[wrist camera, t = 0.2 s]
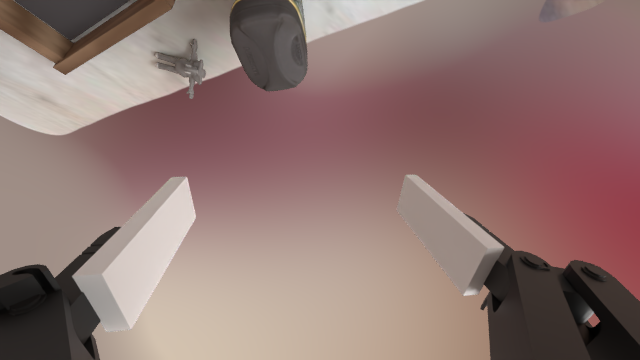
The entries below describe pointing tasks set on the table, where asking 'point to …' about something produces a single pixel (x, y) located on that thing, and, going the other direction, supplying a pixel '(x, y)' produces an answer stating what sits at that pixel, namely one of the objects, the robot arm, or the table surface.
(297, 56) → the coffee jar
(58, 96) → the table surface
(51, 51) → the lane box
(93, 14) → the pad
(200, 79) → the grey toy figurine
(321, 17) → the table surface
